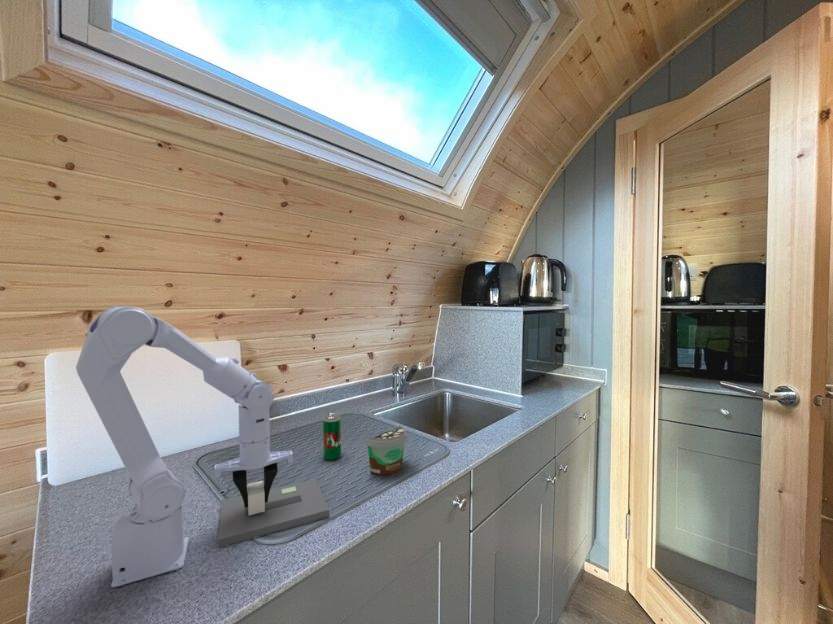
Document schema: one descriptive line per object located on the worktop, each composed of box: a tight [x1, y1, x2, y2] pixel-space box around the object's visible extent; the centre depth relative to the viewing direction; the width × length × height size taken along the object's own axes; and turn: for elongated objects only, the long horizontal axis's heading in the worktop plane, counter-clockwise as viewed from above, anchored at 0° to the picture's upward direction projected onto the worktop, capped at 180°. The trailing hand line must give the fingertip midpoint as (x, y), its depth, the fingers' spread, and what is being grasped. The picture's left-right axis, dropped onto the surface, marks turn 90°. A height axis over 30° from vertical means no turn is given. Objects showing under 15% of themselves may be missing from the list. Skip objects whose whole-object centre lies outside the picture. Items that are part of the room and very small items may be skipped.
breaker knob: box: [247, 480, 265, 515], centre depth 73 cm, size 3×5×4 cm, turn 27°
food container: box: [365, 424, 408, 477], centre depth 92 cm, size 12×6×10 cm, turn 137°
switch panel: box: [217, 478, 330, 548], centre depth 75 cm, size 20×14×2 cm
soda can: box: [322, 412, 342, 461], centre depth 100 cm, size 5×5×12 cm
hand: (256, 502), depth 73 cm, fingers closed on breaker knob, 3 cm apart
